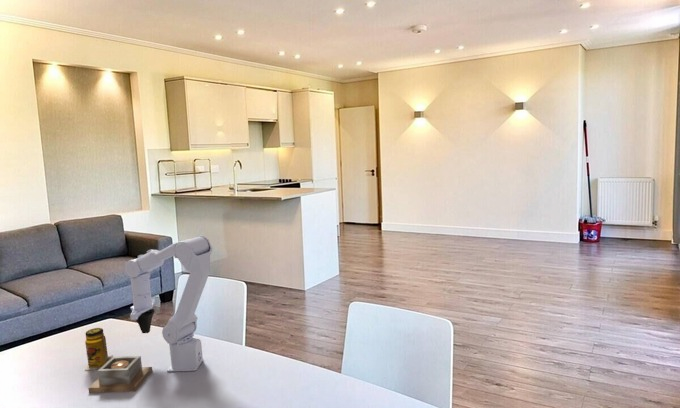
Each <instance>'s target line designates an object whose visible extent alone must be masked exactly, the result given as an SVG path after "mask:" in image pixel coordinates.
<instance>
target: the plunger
mask: <svg viewBox="0 0 680 408" xmlns="http://www.w3.org/2000/svg"><path fill="white" fill-rule="evenodd" d="M128 365H129V362H128V361H126V360H123V361H118V362H115V363H113V364H112V365H111V369H122V368H126V367H127V366H128Z"/></svg>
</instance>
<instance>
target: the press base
mask: <svg viewBox="0 0 680 408" xmlns="http://www.w3.org/2000/svg"><path fill="white" fill-rule="evenodd" d="M123 360H126V361H128V362H129V365H128V366H127V367H126V368H122V369H111V365H112V364H113V363H115V362H118V361H123ZM142 364H143V363H142V356H141V355H133V356H131V355H129V356H113V357H112V358H111V359H110V360H109V361H108V362H107V363H106V364H104V365H103V366H102V367H101V368H98V370H97V377H98V378H97V379H96V380H95V381H94V382H93V383H92V384H91V385H90V386H89V387H88V388H87V389H88V393H90V394H91V393H93V394H95V393H118V392H119V393H121V392H124V393H125V392H136V391H137V390H138V389H139V388H140V387H141V385H142V384H143V383H144V382H145V381H146V380H147V378H148V377H149V376H150V375H151V374H152V372H153V366H143V365H142Z"/></svg>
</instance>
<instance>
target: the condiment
mask: <svg viewBox="0 0 680 408" xmlns="http://www.w3.org/2000/svg"><path fill="white" fill-rule="evenodd" d="M84 334H85V340H84V343H85V349H86V357H87V365H86V368H85V371H91V370H97V369H98V370H99V369H100V368H101V367H102V366H103V365H104V364H106V363H107V362H108V361H109V360H110V359H111V358H112V357H114V355H113V354H112V355H110V356H109V354H108V348H107V347H108V346H107V339H106V336H105V333H104V329H103V328H101V327H94V328H90V329H88V330H87V331H86V332H85V333H84Z"/></svg>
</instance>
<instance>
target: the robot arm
mask: <svg viewBox="0 0 680 408" xmlns="http://www.w3.org/2000/svg"><path fill="white" fill-rule="evenodd" d="M213 250H214V249H213V247H212V244H211V242H210V240H209V239H208V237H206V236H205V235H198V236H196V237H192V238H188V239H184V240H180V241H177V242H173V243H171V244H169V246H166V247H164V248H162V249H160V250H158V249H153V248H151V249H148V250H147V251H146V253H145V254H139V255H137V258H134V259H128V261H127V262H126V263H125V266H124V270H125V274H126V275H127V276H128V277H129V279H130V286H131V294H132V301H133V302H132V304H133V305H132V306H130V310H131V313H130V314H129V315H130V317H129V318H130V320H131V321H136V322H137V324H138V326H139V329H140V331H141V334H149V333H150V331H151V325H152V320H153V316H154V313H155V309H154V308H153V307H154V306H155V305H156V299H155V298H153V297H152V290H151V283H150V282H151V280H150V278H151V276H152V275H151V272H152V271H153V270H156V269H157V268H160V267H162V266H163V265H164V263H165V260H167V259H170V258H172V257H174V259H177V260H178V261H179V262H180V264H181V265H182V267H184V269H185V271H186V272H189V275H188V278H187V281H186V283H185V286H184V289H183V292H182V295H181V297H180V300H179V302H178V306H177V309H176V310H175V313H174V314H173V315H172V316H171V317H170V318H169V319H168V321H167V323H166V325H164V326H163V328H162V333H161V334H162V338H163V340H165V342H166V343H167V344H169V345H168V346H169V355H170V365H169V367H168V368H167V370H166V372H168V373H169V372H193V371H197V370H198V369H199V367H200V365H201V364H202V363H203V361H205V359H204V357H203V348H202V347H203V346H202V341H201V339H200V338H194V336H195V334H194V333H196V331H197V324H198V323H197V321H198V316H197V315H196V314H195V313H196V310H197V308H198V305H199V302H200V299H201V297H202V294H203V292H204V289H205V287H206V284H207V281H208V278H209V275H210V272H211V255H212V253H213Z"/></svg>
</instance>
